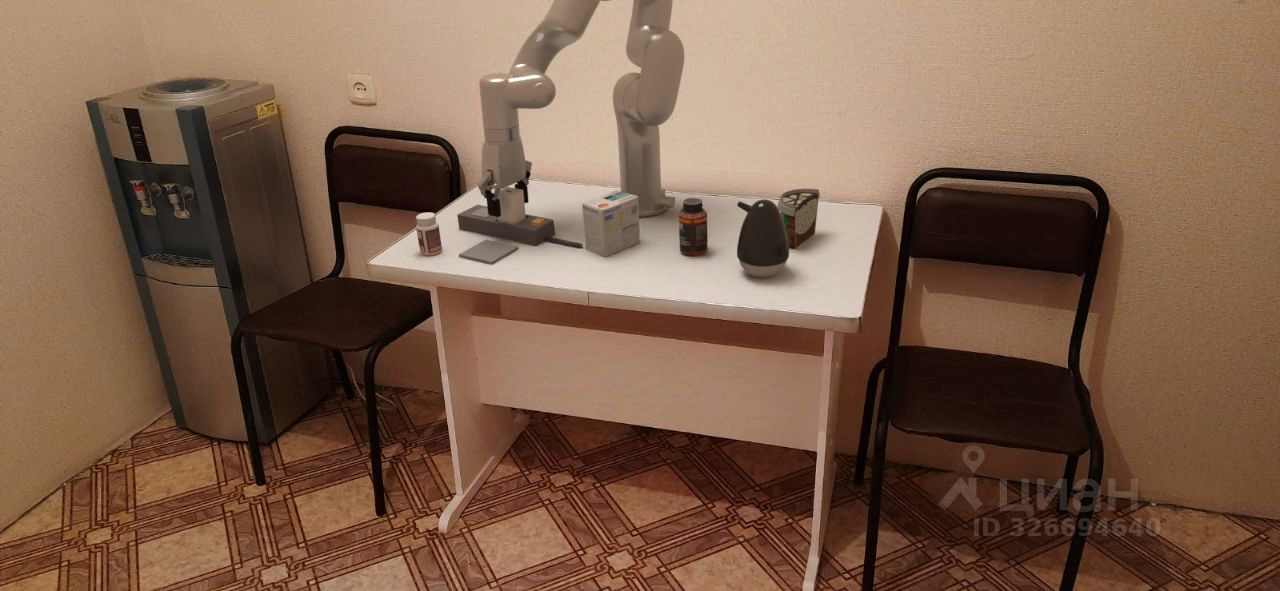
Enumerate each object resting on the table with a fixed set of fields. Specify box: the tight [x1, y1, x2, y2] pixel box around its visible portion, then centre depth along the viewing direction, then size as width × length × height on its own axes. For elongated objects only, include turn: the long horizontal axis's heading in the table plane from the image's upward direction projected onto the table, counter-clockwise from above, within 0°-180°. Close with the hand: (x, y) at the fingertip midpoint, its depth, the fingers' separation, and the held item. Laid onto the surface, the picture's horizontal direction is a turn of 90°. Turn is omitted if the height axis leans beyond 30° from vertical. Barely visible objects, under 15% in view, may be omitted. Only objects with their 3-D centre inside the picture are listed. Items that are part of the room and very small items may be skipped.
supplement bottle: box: [678, 197, 709, 257], centre depth 187 cm, size 6×6×11 cm
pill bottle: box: [415, 212, 443, 257], centre depth 194 cm, size 5×5×8 cm
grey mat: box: [458, 239, 519, 265], centre depth 193 cm, size 9×9×1 cm
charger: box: [497, 186, 526, 225], centre depth 200 cm, size 4×4×8 cm
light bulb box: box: [581, 189, 641, 258], centre depth 192 cm, size 11×7×11 cm, turn 135°
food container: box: [776, 188, 821, 250], centre depth 191 cm, size 12×6×10 cm, turn 145°
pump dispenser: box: [736, 199, 790, 278], centre depth 176 cm, size 10×10×15 cm
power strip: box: [456, 204, 584, 249], centre depth 200 cm, size 32×7×4 cm, turn 59°
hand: (508, 208), depth 200 cm, fingers open, 9 cm apart
